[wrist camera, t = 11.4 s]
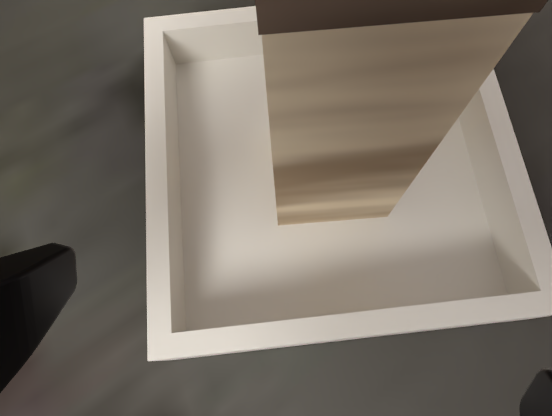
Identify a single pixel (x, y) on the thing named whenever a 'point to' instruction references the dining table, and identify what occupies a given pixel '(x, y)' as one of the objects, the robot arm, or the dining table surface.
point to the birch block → (370, 93)
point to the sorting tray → (321, 235)
